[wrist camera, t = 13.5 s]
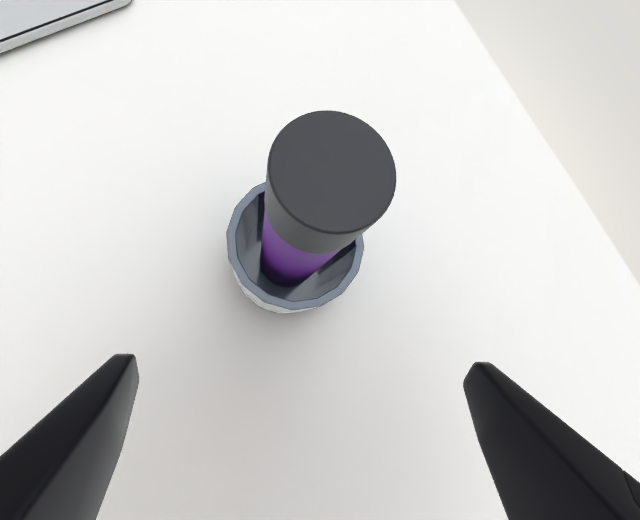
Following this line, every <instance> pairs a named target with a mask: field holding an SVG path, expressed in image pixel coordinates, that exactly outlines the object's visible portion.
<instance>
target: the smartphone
mask: <svg viewBox="0 0 640 520" xmlns="http://www.w3.org/2000/svg"><path fill="white" fill-rule="evenodd" d="M130 1H131V0H0V53H2V52H5V51H7V50H10V49H13V48H15V47H18V46H20V45H23V44H26V43H28V42H31V41H34V40H36V39H39V38H41V37H44V36H47V35H49V34H52V33H55V32H57V31H60V30H63V29H65V28H68V27H70V26H73V25H76V24H78V23H81V22H84V21H86V20H89V19H91V18H94V17H97V16H99V15H102V14H105V13H107V12H110V11H113V10H115V9H118V8H120V7H123V6H125V5H127V4H128V3H130Z"/></svg>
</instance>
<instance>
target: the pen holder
mask: <svg viewBox="0 0 640 520" xmlns="http://www.w3.org/2000/svg"><path fill="white" fill-rule="evenodd" d="M265 186H266V182H265V183H262V184H260V185H258V186H256V187H254V188H252V189H251V190H250V191H249V193H248V194H247V195H246V196H245V197H244V198H243V199H242V200H241V201H240V202H239V203H238V205H237V206H236V208H235V209H234V212H233V215H232V217H231V220H230V223H229V226H228V229H227V233H226V235H227V246H228V258H229V262H230V265H231V267H232V270H233V273H234V275H235V278H236V279H237V281H238V283H239V285H240V287H241V289H242V290H243V292H244V294H245V295H246V296H247V297H248V298H249V299H251V300H252V301H253V302H254V303H256V304H257V305H258V306H260V307H261V308H263V309H266V310H269V311H272V312H277V313H281V314H287V313H295V312H303V311H306V310H310V309H313V308H317V307H320V306H322V305H324V304H325V303H327V302H329V301H330V300H332V299H334V298H336V297H337V296H339V295H341V294H342V293H343V292H344V291H345V290H346V288H347V287H348V285H349V284H350V283H351V281H352V280H353V279H354V277H355V276H356V275H357V273H358V271H359V267H360V263H361V259H362V255H363V250H364V244H363V237H362V234H361V235H360V236H359V237H357V238H356V239H355V240H354V241H353V242H352V243H350V244H349V245H347V246H346V247H344V248H342V249H341V250H340V251H339V252H338V253H336V254H335V255H334V256H333V257H332V258H331V259H329V260H328V261H327V262H326V263H325V264H324V265H323V266H321V267H320V268H319V269H318V270H317V271H316V272H314V273H313V274H312V275H311V276H310V277H309V278H308V279H306V280H305V281H304V282H303V283H301V284H299V285H297V286H293V287H282V286H278V285H276V284H274V283H272V282H271V281H270V280H268V278H267V277H266V276H265V275H264V273H263V271H262V269H261V265H260V252H261V243H262V233H263V223H264V213H265V203H264V200H265Z"/></svg>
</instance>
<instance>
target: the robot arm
mask: <svg viewBox="0 0 640 520" xmlns="http://www.w3.org/2000/svg"><path fill="white" fill-rule="evenodd" d="M138 384H139V373H138V368H137V362H136V358H135V356H134V355H133V354H116V355H114V356H112V357H111V358H110V359H109V360H108V361H107V362H106V363H104V364H103V365H102V366H101V367H100V368H99V369H98V370H97V371H95V372H94V373H93V374H92V375H91V376H90V377H89V378H88V379H87V380H85V381H84V382H83V383H82V384H81V385H80V386H79V387H78V388H76V389H75V390H74V391H73V392H72V393H71V394H70V395H69V396H67V397H66V398H65V399H64V400H63V401H62V402H61V403H60V404H59V405H57V406H56V407H55V408H54V409H53V410H52V411H51V412H50V413H48V414H47V415H46V416H45V417H44V418H43V419H42V420H41V421H39V422H38V423H37V424H36V425H35V426H34V427H33V428H32V429H31V430H29V431H28V432H27V433H26V434H25V435H24V436H23V437H22V438H20V439H19V440H18V441H17V442H16V443H15V444H14V445H13V446H12V447H10V448H9V449H8V450H7V451H6V452H5V453H4V454H3V455H1V456H0V520H96V517H97V515H98V512H99V509H100V507H101V504H102V501H103V499H104V496H105V493H106V491H107V488H108V485H109V483H110V480H111V477H112V475H113V472H114V469H115V467H116V464H117V461H118V459H119V456H120V453H121V450H122V447H123V443H124V439H125V436H126V432H127V428H128V424H129V420H130V416H131V412H132V408H133V404H134V400H135V396H136V392H137V389H138ZM463 387H464V391H465V395H466V399H467V402H468V406H469V409H470V413H471V417H472V420H473V424H474V427H475V431H476V434H477V437H478V441H479V444H480V446H481V449H482V452H483V454H484V457H485V460H486V462H487V465H488V467H489V470H490V473H491V475H492V478H493V480H494V483H495V486H496V488H497V491H498V493H499V496H500V499H501V501H502V504H503V506H504V509H505V512H506V514H507V517H508V519H509V520H640V483H639V482H638V481H637V480H635V479H634V478H633V477H632V476H630V475H629V474H628V473H627V472H625V471H622V469H621V468H620V467H619V466H618V465H617V464H615V463H614V462H613V461H612V460H611V459H609V458H608V457H607V456H606V455H604V454H603V453H602V452H601V451H599V450H598V449H597V448H596V447H594V446H593V445H592V444H591V443H589V442H588V441H587V440H586V439H584V438H583V437H582V436H581V435H579V434H578V433H577V432H576V431H575V430H573V429H572V428H571V427H570V426H568V425H567V424H566V423H565V422H563V421H562V420H561V419H560V418H558V417H557V416H556V415H555V414H553V413H552V412H551V411H550V410H548V409H547V408H546V407H545V406H544V405H542V404H541V403H540V402H539V401H537V400H536V399H535V398H534V397H532V396H531V395H530V394H529V393H527V392H526V391H525V390H524V389H522V388H521V387H520V386H519V385H517V384H516V383H515V382H514V381H513V380H511V379H510V378H509V377H508V376H506V375H505V374H504V373H503V372H501V371H500V370H499V369H498V368H496V367H495V366H494V365H493V364H491V363H489V362H475V363H474V364H473V365H472V367H471V369H470V370H469V372H468V374H467V375H466V377H465V379H464V382H463Z"/></svg>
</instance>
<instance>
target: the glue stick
mask: <svg viewBox="0 0 640 520" xmlns="http://www.w3.org/2000/svg"><path fill="white" fill-rule="evenodd" d="M395 187H396V170H395V164H394V160H393V157H392V155H391V152H390V150H389V148H388V146H387V145H386V143H385V141H384V140H383V139H382V137H381V136H380V135H379V134H378V133H377V132H376V131H375V130H374V129H373V128H372V127H371V126H369V125H368V124H367V123H365V122H364V121H362V120H360V119H358V118H356V117H354V116H352V115H349V114H346V113H342V112H337V111H316V112H311V113H307V114H305V115H302V116H300V117H298V118H296V119H295V120H293V121H291V122H290V123H289V124H288V125H286V126H285V127H284V128H283V129H282V130H281V131H280V133H279V134H278V135H277V137H276V138H275V140H274V142H273V144H272V146H271V149H270V152H269V157H268V164H267V175H266V186H265V200H264V203H265V213H264V223H263V233H262V243H261V252H260V265H261V269H262V271H263V273H264V275H265V276H266V277H267V278H268V280H270V281H271V282H272V283H274V284H276V285H278V286H282V287H293V286H297V285H299V284H301V283H303V282H304V281H305V280H306V279H308V278H309V277H310V276H311V275H312V274H313V273H314V272H316V271H317V270H318V269H319V268H320V267H321V266H323V265H324V264H325V263H326V262H327V261H328V260H329V259H331V258H332V257H333V256H334V255H335V254H336V253H338V252H339V251H340V250H341V249H342V248H344V247H346V246H347V245H349V244H350V243H352V242H353V241H354V240H355V239H356V238H357V237H359V236H360V235H361V234H362V233H363V232H365V231H366V230H367V229H368V228H369V227H370V226H372V225H373V224H374V223H375V222H376V221H377V220H378V219H379V218H381V217H382V215H383V214H384V213H385V212H386V210H387V209H388V207H389V205H390V204H391V201H392V199H393V196H394V192H395Z"/></svg>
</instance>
